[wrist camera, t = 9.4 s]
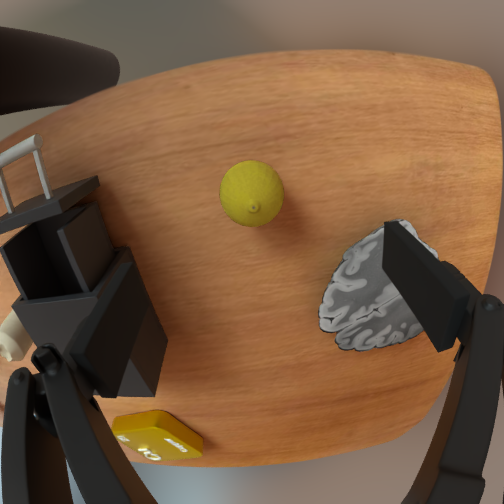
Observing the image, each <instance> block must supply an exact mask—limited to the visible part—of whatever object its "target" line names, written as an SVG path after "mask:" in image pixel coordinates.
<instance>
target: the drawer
mask: <svg viewBox="0 0 504 504" xmlns="http://www.w3.org/2000/svg"><path fill="white" fill-rule="evenodd" d="M42 144H43V140H42V137H41V136H40V135H39V134H35V135H33V136H31V137H29V138H28V139H26V140H24V141H22V142H20V143H18V144H17V145H15V146H13V147H11V148H10V149H8V150H6V151H5V152H3V153H1V154H0V188H1V192H2V195H3V198H4V201H5V204H6V207H7V210H8V212H7V213H6V214H4V215H3V216H1V217H0V234H2V233H5V232H8V231H11V230H13V229H16V228H19V227H22V226H25V225H27V226H26V227H24V228H23V229H22V230H21V231H19V232H18V233H17V234H16V235H14V236H13V237H12V238H11V239H10V240H8V241H7V242H6V243H5V244H4V245H2V246H1V247H0V252H1V255H2V257H3V259H4V261H5V263H6V266H7V268H8V270H9V272H10V274H11V276H12V278H13V280H14V282H15V284H16V286H17V288H18V290H19V292H20V293H21V295H22V297H23V299H24V300H32V299H40V298H49V297H57V296H65V295H73V294H80V293H88V292H93V290H94V289H95V287H96V286H97V284H98V283H99V281H100V279H101V278H102V276H103V275H104V273H105V272H106V270H107V269H108V268H109V266H110V265H111V263H112V262H113V260H114V259H115V257H116V255H115V252H114V249H113V247H112V244H111V241H110V239H109V236H108V233H107V230H106V227H105V225H104V222H103V219H102V216H101V213H100V210H99V207H98V204H97V201H95V202H91V203H88V204H85V205H81V206H78V207H74V208H71V209H69V208H70V207H71V206H73V205H74V204H75V203H77V202H78V201H79V200H81V199H82V198H84V197H85V196H86V195H88V194H89V193H90V192H92V191H93V190H95V189H96V188H98V187H99V186H100V183H99V179H98V176H97V175H96V176H93V177H90V178H87V179H84V180H81V181H78V182H75V183H72V184H69V185H66V186H63V187H60V188H58V189H55V190H52V189H51V186H50V182H49V179H48V176H47V172H46V169H45V165H44V161H43V157H42V154H41V150H40V149H39V148H41V147H42ZM31 152H33V155H34V158H35V162H36V166H37V170H38V173H39V177H40V180H41V183H42V187H43V190H44V194H41V195H39V196H36V197H34V198H31V199H29V200H26V201H24V202H22V203H21V204H19V205H18V206H16V207H15V208H14V206H13V203H12V200H11V197H10V194H9V191H8V188H7V184H6V181H5V178H4V174H3V170H2V168H3V167H4V166H6V165H8V164H10V163H12V162H14V161H15V160H17V159H19V158H21V157H23V156H25V155H27V154H29V153H31ZM67 209H68V210H67Z"/></svg>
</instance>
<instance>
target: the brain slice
mask: <svg viewBox="0 0 504 504" xmlns="http://www.w3.org/2000/svg"><path fill="white" fill-rule="evenodd" d="M392 221H398V222H399V223H400V224H401V225H402V226H403V227H405V228H406V229H407V230H408V231H409V232H410V233H411V234H412V235H413V236H414V237H415V238H416V239H418V240H419V241H420V242H421V243H422V244H423V245H424V246H425V247H426V248H427V249H428V250H429V251H430V252H431V253H432V254H433V255H434V256H435V257H436V258H437V259H438V260H439V258H438V255H437V251H436V250H434V249H433V248H431V247H429V246H428V245H427V244H426V243H424V242H422V241H421V239H420V238H419V237H418V235H417V232H416V230H415V229H414V228H413V227H412V225H411V223H410V222H408V221H407V220H403V219H395V220H392ZM383 238H384V225H382V226H381V227H379V228H377V229H376V230H374V231H373V232H372V233H370V234H369V235H368V236H367V237H365V238H363V239H361V240H360V241H358V242H356V243H355V244H354V245H352V246H351V247H349V248H348V249H347V250H346V252H345V253H344V254H343V259H342V261H341V262H340V264H339V265H338V267H337V268H336V270H335V271H334V273H333V275H332V279H331V281H330V282H329V283H328V285H327V287H326V290H325V292H324V295H323V298H322V304H321V305H320V307H319V311H318V316H319V318H320V320H319V327H320V329H321V330H322V331H323V332H326V333H335V332H337V334H336V337H335V343H336V344H337V345H338V347H339V348H340V349H341V350H346V351H348V350H352V349H355V350H356V351H359V352H360V351H368V350H371V349H373V348H383V347H386V346H391V345H394V344H397V343H399V344H401V343H403V342H405V341H407V340H409V339H411V338H414V337H416V336H417V335H418V334H420V333H421V332H422V331H423V330H424V329H423V328H422V326H421V324H420V323H419V321H418V320H417V318H416V317H415V315H414V314H413V312H412V311H411V309H410V308H409V306H408V305H407V303H406V302H405V300H404V299H403V297H402V296H401V294H400V293H399V292H398V290H397V289H396V287H395V286H394V284H393V283H392V282H391V280H390V279H389V277H388V276H387V275H386V273H385V272H384V270H383V269H382V257H383Z"/></svg>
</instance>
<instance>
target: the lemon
mask: <svg viewBox="0 0 504 504" xmlns="http://www.w3.org/2000/svg"><path fill="white" fill-rule="evenodd" d="M219 195H220V200H221V205H222V207H223V209H224V211H225V213H226V214H227V215H228V216H229V217H230V218H231V219H232V220H233V221H235V222H236V223H238V224H240V225H243V226H248V227H257V226H261V225H264V224H266V223H268V222H270V221H271V220H272V219H273V218H274V217H275V216H276V215H277V214H278V212H279V211H280V209H281V207H282V203H283V200H284V188H283V184H282V181H281V179H280V177H279V175H278V173H277V172H276V171H275V170H274V169H273V168H272V167H270V166H269V165H267V164H265V163H263V162H260V161H253V160H248V161H243V162H240V163H238V164H236V165H234V166H233V167H232V168H230V169H229V170H228V171H227V173H226V174H225V176H224V177H223V179H222V182H221V185H220V194H219Z"/></svg>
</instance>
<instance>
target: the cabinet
mask: <svg viewBox="0 0 504 504" xmlns="http://www.w3.org/2000/svg"><path fill="white" fill-rule="evenodd" d="M114 252H115V255H116V257H115V259H114V260H113V262H112V263H111V265H110V266H109V268H108V269H107V270H106V272H105V273H104V275H103V276H102V278H101V279H100V281H99V283H98V284H97V286H96V287H95V289H94V290H93V292H88V293H80V294H73V295H65V296H57V297H49V298H40V299H32V300H24V299H23V297H22V295H20V296H19V297H18V299H17V300H16V301H15V302H14V303H13V304H12V306H11V307H12V308H13V310H14V312H15V313H16V315H17V317H18V318H19V320H20V322H21V323H22V325H23V326H24V328H25V330H26V331H27V333H28V334H29V336H30V337H31V339H32V340H33V342H34V343H35V345H36V346H37V348H38V347H40V346H41V345H43V344H45V343H53V344H54V345H55V346H56V348H57V349H58V351H59V352H60V353H61V355H62V353H63V352H64V350H65V348H66V346H67V344H68V342H69V341H70V339H71V338H72V335H73V333H74V332H75V330H76V328H77V326H78V325H79V323H80V322H81V321H82V320H83V319H84V318H85V317H86V316H89V315H90V313H91V312H92V310H93V308H94V307H95V305H96V303H97V301H98V300H99V298H100V296H101V295H102V293H103V291H104V290H105V288H106V287H107V285H108V283H109V282H110V280H111V279H112V277H113V275H114V274H115V272H116V271H117V269H118V268H119V266H120V264H123V263H129V262H133V263H134V265H135V268H136V270H137V273H138V276H139V278H140V281H141V283H142V286H143V288H144V291H145V293H146V295H147V298H148V300H149V303H150V304H149V307H148V309H147V312H146V315H145V317H144V320H143V323H142V325H141V328H140V331H139V333H138V336H137V339H136V342H135V344H134V347H133V350H132V353H131V356H130V358H129V361H128V364H127V367H126V370H125V373H124V376H123V379H122V382H121V385H120V388H119V391H118V395H117V396H122V397H155V394H156V389H157V385H158V380H159V376H160V372H161V367H162V363H163V359H164V355H165V351H166V347H167V342H168V339H167V337H166V335H165V333H164V330H163V328H162V326H161V324H160V322H159V319H158V317H157V315H156V312H155V310H154V308H153V305H152V303H151V301H150V298H149V296H148V293H147V291H146V288H145V286H144V284H143V281H142V278H141V276H140V273H139V271H138V268H137V266H136V263H135V260H134V257H133V255H132V252H131V249H130V246H125V247H120V248H115V249H114ZM93 395H99V393H98V392H97V391H96V390H95V391H94V393H93Z"/></svg>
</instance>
